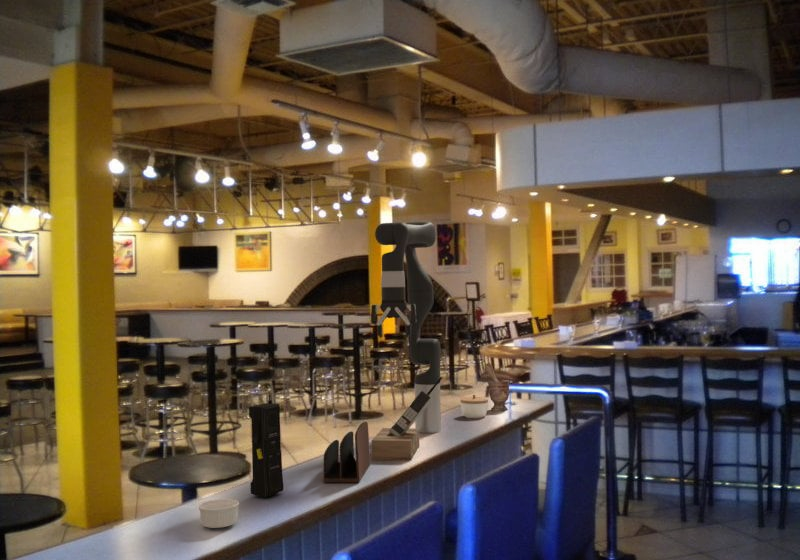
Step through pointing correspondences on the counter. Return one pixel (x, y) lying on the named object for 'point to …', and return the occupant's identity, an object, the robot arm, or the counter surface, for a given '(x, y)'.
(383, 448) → the walnut dock rack
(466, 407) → the lidded jar
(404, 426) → the vintage mobile phone
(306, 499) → the counter surface
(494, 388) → the mortar and pestle
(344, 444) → the letter holder
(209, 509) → the ramekin
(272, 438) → the portable radio
